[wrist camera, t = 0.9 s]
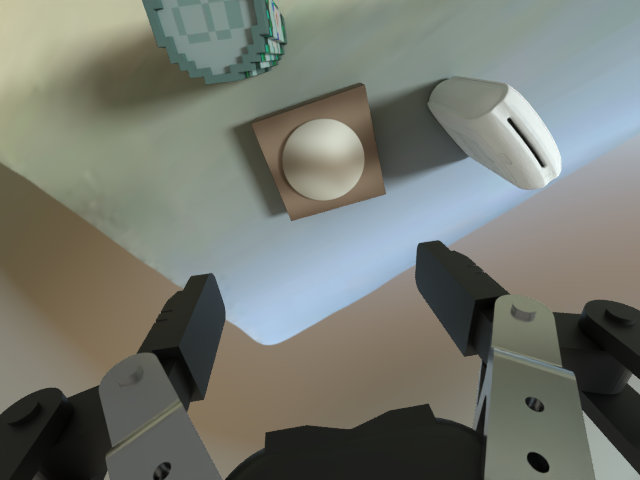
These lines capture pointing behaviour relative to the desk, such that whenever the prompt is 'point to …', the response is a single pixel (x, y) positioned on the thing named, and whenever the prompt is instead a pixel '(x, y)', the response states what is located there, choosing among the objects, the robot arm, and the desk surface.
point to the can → (219, 36)
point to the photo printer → (497, 130)
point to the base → (322, 152)
